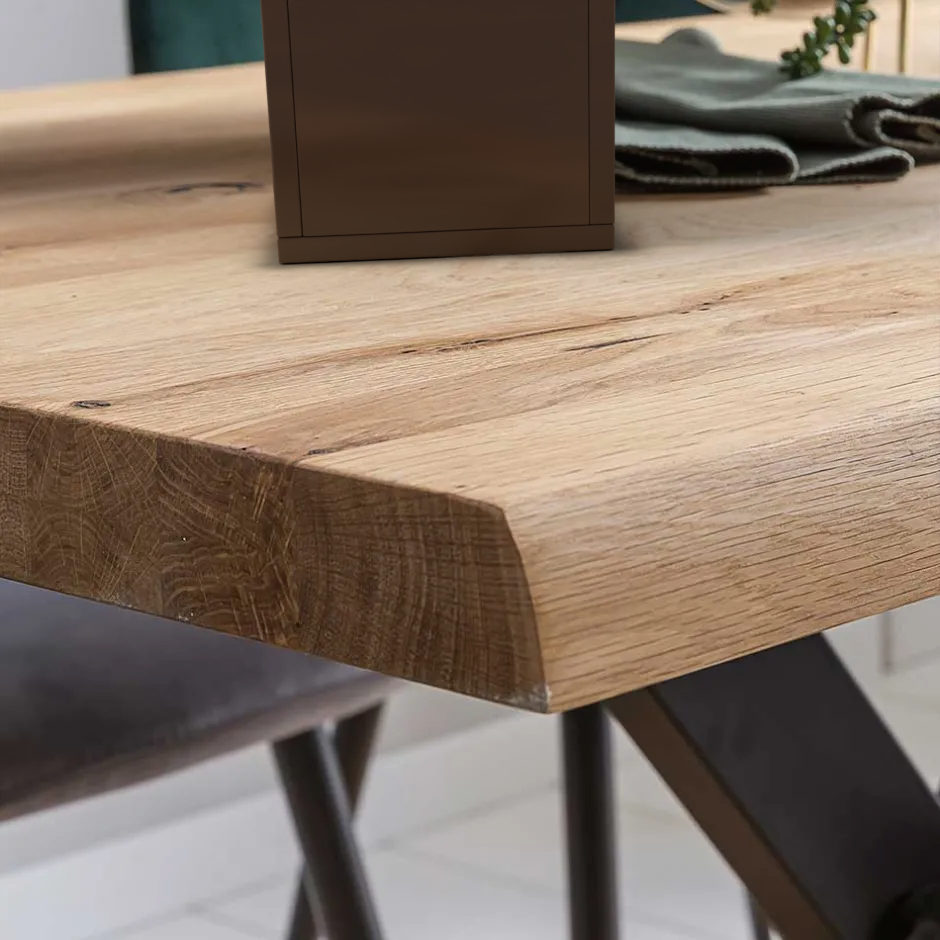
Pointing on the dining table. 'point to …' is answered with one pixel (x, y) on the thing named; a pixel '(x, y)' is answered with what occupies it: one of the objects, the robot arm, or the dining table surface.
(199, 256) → the dining table surface
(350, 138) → the cabinet
